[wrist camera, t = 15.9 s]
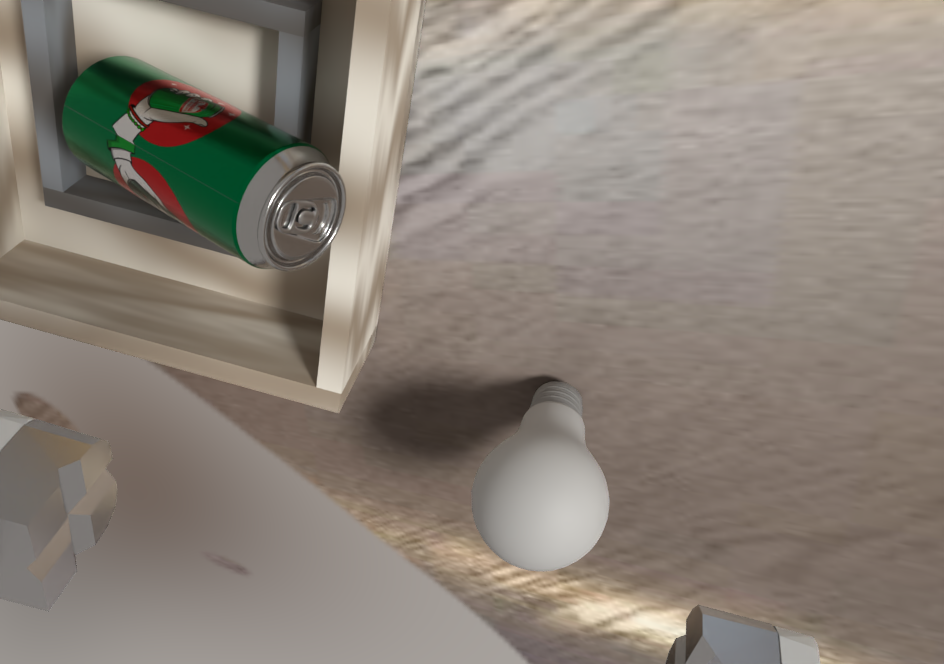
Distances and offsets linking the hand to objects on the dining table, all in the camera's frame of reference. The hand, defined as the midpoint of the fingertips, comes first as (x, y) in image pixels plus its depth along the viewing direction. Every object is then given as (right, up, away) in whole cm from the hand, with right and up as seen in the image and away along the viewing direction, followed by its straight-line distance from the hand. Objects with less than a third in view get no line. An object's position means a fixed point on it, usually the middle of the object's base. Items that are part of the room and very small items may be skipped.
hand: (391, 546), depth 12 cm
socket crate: (-12, +14, +28) cm, 33 cm away
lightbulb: (+6, 0, +33) cm, 34 cm away
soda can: (-15, +12, +26) cm, 32 cm away
